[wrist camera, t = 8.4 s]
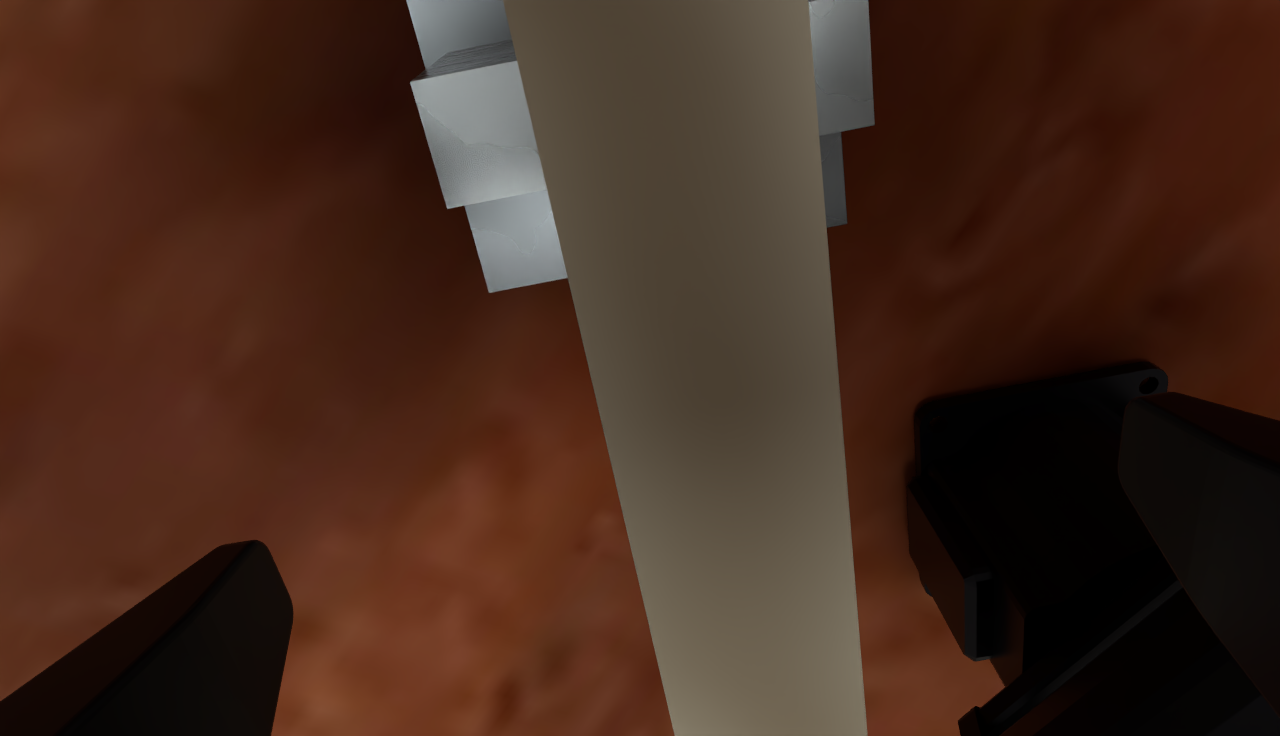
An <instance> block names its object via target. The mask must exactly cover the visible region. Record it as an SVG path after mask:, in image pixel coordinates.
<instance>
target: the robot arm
mask: <svg viewBox="0 0 1280 736" xmlns="http://www.w3.org/2000/svg"><path fill="white" fill-rule="evenodd" d="M1148 377H1149V379H1148V381H1147V382H1146V383H1145V384H1144V385H1143V386H1140V383H1141V382H1142V381H1143V380H1144V379H1146V378H1148ZM1139 386H1140V387H1139ZM1167 386H1168V377H1167V375H1166V373H1165V372H1164V371H1163V370H1162V369H1160V368H1159V367H1157V366H1156V365H1155V364H1153V363H1150V362H1138V363H1133V364H1127V365H1122V366H1117V367H1111V368H1106V369H1101V370H1095V371H1090V372H1085V373H1079V374H1074V375H1069V376H1063V377H1058V378H1053V379H1047V380H1042V381H1037V382H1031V383H1026V384H1021V385H1015V386H1010V387H1005V388H999V389H994V390H989V391H983V392H978V393H973V394H967V395H962V396H957V397H951V398H946V399H941V400H935V401H931V402H928V403H926V404H924V405H923V406H922V407H920V408H919V410H918V411H917V413H916V414H915V419H914V429H915V458H916V476H915V477H912V478H911V480H910V481H909V483H908V485H907V510H908V534H909V553H910V556H911V558H912V560H913V561H914V563H915V565H916V567H917V569H918V571H919V573H920V581H921V583H922V585H923V587H924V589H925V591H926V593H928V594H929V595H930V596H932V597H933V599H934V600H935V602H936V604H937V606H938V608H939V610H940V611H941V613H942V615H943V617H944V619H945V621H946V623H947V624H948V626H949V628H950V630H951V632H952V634H953V636H954V637H955V639H956V641H957V643H958V645H959V647H960V649H961V650H962V652H963V654H964V655H965V656H967V657H968V658H970V659H971V660H973V661H981V660H986V659H990V661H991V663H992V665H993V666H994V668H995V670H996V672H997V673H998V675H999V677H1000V679H1001V680H1002V682H1003V684H1004V686H1005V688H1004V689H1003V690H1001V691H1000V692H999V693H998V694H996V695H995V696H994V697H993V698H992V699H990V700H989V701H988V702H987V703H986V704H984V705H983V706H982V707H981V708H980V707H977V706H975V707H974V708H972V709H971V710H970V711H969V712H968V713H966V714H965V715H964V716H963V717H962V718H960V719H959V720H958V725H959V730H960V735H961V736H1280V421H1278V420H1274V419H1270V418H1267V417H1263V416H1260V415H1256V414H1252V413H1249V412H1245V411H1242V410H1238V409H1234V408H1231V407H1227V406H1224V405H1220V404H1216V403H1213V402H1209V401H1206V400H1202V399H1198V398H1195V397H1191V396H1187V395H1184V394H1180V393H1176V392H1167ZM938 416H940V417H942V419H941V421H940V422H939V423H938V424H935V425H929V424H930V422H931V421H932V420H933V418H936V417H938ZM292 624H293V605H292V601H291V598H290V595H289V593H288V591H287V589H286V586H285V584H284V582H283V580H282V577H281V575H280V573H279V571H278V568H277V566H276V564H275V562H274V560H273V557H272V555H271V553H270V551H269V549H268V548H267V546H266V545H265V544H264V543H262V542H260V541H258V540H250V541H243V542H237V543H231V544H225V545H222V546H219V547H217V548H215V549H214V550H212V551H211V552H210V553H208V554H207V555H205V556H204V557H203V558H201V559H200V560H198V561H197V562H196V563H194V564H193V565H191V566H190V567H189V568H187V569H186V570H184V571H183V572H182V573H180V574H179V575H177V576H176V577H174V578H173V579H172V580H170V581H169V582H167V583H166V584H165V585H163V586H162V587H160V588H159V589H158V590H156V591H155V592H153V593H152V594H151V595H149V596H148V597H146V598H145V599H144V600H142V601H141V602H139V603H138V604H137V605H135V606H134V607H132V608H131V609H130V610H128V611H127V612H125V613H124V614H123V615H121V616H120V617H118V618H117V619H115V620H114V621H113V622H111V623H110V624H108V625H107V626H106V627H104V628H103V629H101V630H100V631H99V632H97V633H96V634H94V635H93V636H92V637H90V638H89V639H87V640H86V641H85V642H83V643H82V644H80V645H79V646H78V647H76V648H75V649H73V650H72V651H71V652H69V653H68V654H66V655H65V656H64V657H62V658H61V659H59V660H58V661H56V662H55V663H54V664H52V665H51V666H49V667H48V668H47V669H45V670H44V671H42V672H41V673H40V674H38V675H37V676H35V677H34V678H33V679H31V680H30V681H28V682H27V683H26V684H24V685H23V686H21V687H20V688H19V689H17V690H16V691H14V692H13V693H12V694H10V695H9V696H7V697H6V698H5V699H3V700H2V701H0V736H271V732H272V727H273V722H274V717H275V712H276V707H277V702H278V696H279V691H280V686H281V681H282V676H283V671H284V665H285V660H286V655H287V650H288V645H289V640H290V635H291V629H292Z"/></svg>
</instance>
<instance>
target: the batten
mask: <svg viewBox="0 0 1280 736" xmlns="http://www.w3.org/2000/svg"><path fill="white" fill-rule="evenodd" d="M503 3H504V7H505V12H506V16H507V20H508V24H509V29H510V33H511V37H512V42H513V46H514V50H515V54H516V59H517V63H518V67H519V71H520V76H521V80H522V84H523V89H524V93H525V97H526V101H527V106H528V110H529V114H530V119H531V123H532V127H533V131H534V136H535V140H536V144H537V148H538V153H539V157H540V161H541V166H542V170H543V174H544V178H545V183H546V187H547V191H548V195H549V200H550V204H551V208H552V213H553V217H554V221H555V225H556V230H557V234H558V238H559V242H560V247H561V251H562V255H563V260H564V264H565V268H566V272H567V277H568V281H569V285H570V289H571V294H572V298H573V302H574V307H575V311H576V315H577V319H578V324H579V328H580V332H581V337H582V341H583V345H584V349H585V354H586V358H587V362H588V366H589V371H590V375H591V379H592V384H593V388H594V392H595V396H596V401H597V405H598V409H599V413H600V418H601V422H602V426H603V431H604V435H605V439H606V443H607V448H608V452H609V456H610V460H611V465H612V469H613V473H614V478H615V482H616V486H617V490H618V495H619V499H620V503H621V507H622V512H623V516H624V520H625V525H626V529H627V533H628V537H629V542H630V546H631V550H632V555H633V559H634V563H635V567H636V572H637V576H638V580H639V584H640V589H641V593H642V597H643V602H644V606H645V610H646V614H647V619H648V623H649V627H650V631H651V636H652V640H653V644H654V649H655V653H656V657H657V661H658V666H659V670H660V674H661V678H662V683H663V687H664V691H665V696H666V700H667V704H668V708H669V713H670V717H671V721H672V725H673V730H674V734H675V736H867V725H866V712H865V700H864V687H863V675H862V662H861V650H860V638H859V625H858V613H857V600H856V588H855V575H854V563H853V551H852V538H851V526H850V513H849V501H848V488H847V476H846V464H845V451H844V439H843V426H842V414H841V401H840V389H839V377H838V364H837V352H836V339H835V327H834V314H833V302H832V289H831V277H830V265H829V252H828V240H827V227H826V215H825V202H824V190H823V178H822V165H821V153H820V140H819V128H818V115H817V103H816V91H815V78H814V66H813V53H812V41H811V28H810V16H809V4H808V0H503Z"/></svg>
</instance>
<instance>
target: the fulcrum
mask: <svg viewBox="0 0 1280 736" xmlns="http://www.w3.org/2000/svg"><path fill="white" fill-rule="evenodd" d="M406 1H407V5H408V8H409V12H410V15H411V19H412V22H413V26H414V29H415V33H416V36H417V40H418V43H419V47H420V50H421V54H422V57H423V61H424V65H425V68H426V70H424V71H423V72H422V73H421V74H419V75H418V76H417V77H416V78H414V79H413V80H412V81H411V82H410V84H411V87H412V90H413V94H414V97H415V101H416V104H417V107H418V111H419V114H420V118H421V121H422V124H423V128H424V131H425V135H426V138H427V141H428V145H429V148H430V152H431V155H432V158H433V162H434V165H435V169H436V172H437V176H438V179H439V182H440V186H441V189H442V193H443V196H444V199H445V203H446V206H447V209H449V208H454V207H459V206H465V209H466V213H467V216H468V220H469V223H470V227H471V230H472V234H473V237H474V241H475V244H476V248H477V252H478V255H479V259H480V262H481V266H482V269H483V273H484V276H485V280H486V283H487V287H488V290H489V293H491V292H496V291H501V290H507V289H512V288H517V287H522V286H527V285H532V284H538V283H543V282H548V281H553V280H558V279H563V278H568V277H567V272H566V268H565V264H564V260H563V255H562V251H561V247H560V242H559V238H558V234H557V230H556V225H555V221H554V217H553V213H552V208H551V204H550V200H549V195H548V191H547V187H546V183H545V178H544V174H543V170H542V166H541V161H540V157H539V153H538V148H537V144H536V140H535V136H534V131H533V127H532V123H531V119H530V114H529V110H528V106H527V101H526V97H525V93H524V89H523V84H522V80H521V76H520V71H519V67H518V63H517V59H516V54H515V50H514V46H513V42H512V37H511V33H510V29H509V24H508V20H507V16H506V12H505V7H504V3H503V0H406ZM808 4H809V16H810V28H811V41H812V53H813V66H814V78H815V91H816V103H817V115H818V128H819V140H820V153H821V165H822V178H823V190H824V202H825V215H826V227H832V226H838V225H843V224H847V212H846V198H845V184H844V169H843V155H842V141H841V132H842V131H847V130H852V129H857V128H862V127H867V126H872V125H875V123H874V103H873V84H872V64H871V44H870V25H869V5H868V0H808Z"/></svg>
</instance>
